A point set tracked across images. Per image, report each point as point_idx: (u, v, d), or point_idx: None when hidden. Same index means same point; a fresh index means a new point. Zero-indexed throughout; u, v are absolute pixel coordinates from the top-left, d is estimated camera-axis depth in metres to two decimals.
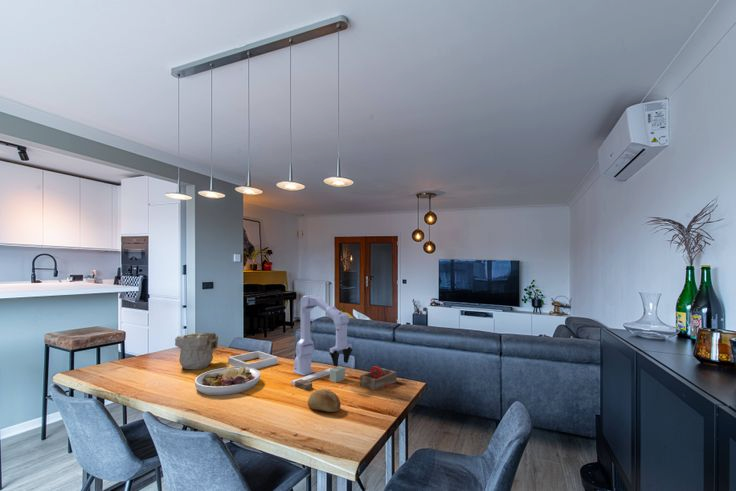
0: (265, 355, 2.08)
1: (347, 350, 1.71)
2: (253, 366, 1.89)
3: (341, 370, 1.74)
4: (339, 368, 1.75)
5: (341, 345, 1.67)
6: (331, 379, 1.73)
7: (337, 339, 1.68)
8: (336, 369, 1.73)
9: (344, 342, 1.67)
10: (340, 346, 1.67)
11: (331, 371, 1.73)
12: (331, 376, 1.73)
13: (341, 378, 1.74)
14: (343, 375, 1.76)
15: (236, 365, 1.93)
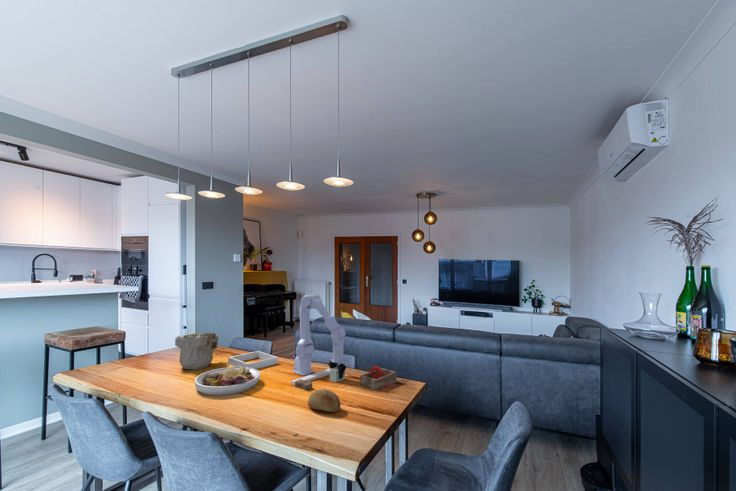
0: (265, 355, 2.08)
1: None
2: (253, 366, 1.89)
3: None
4: None
5: (332, 357, 1.75)
6: (331, 379, 1.73)
7: None
8: (336, 369, 1.73)
9: (333, 355, 1.74)
10: (332, 358, 1.76)
11: (331, 371, 1.73)
12: (331, 376, 1.73)
13: (341, 378, 1.74)
14: (343, 375, 1.76)
15: (236, 365, 1.93)
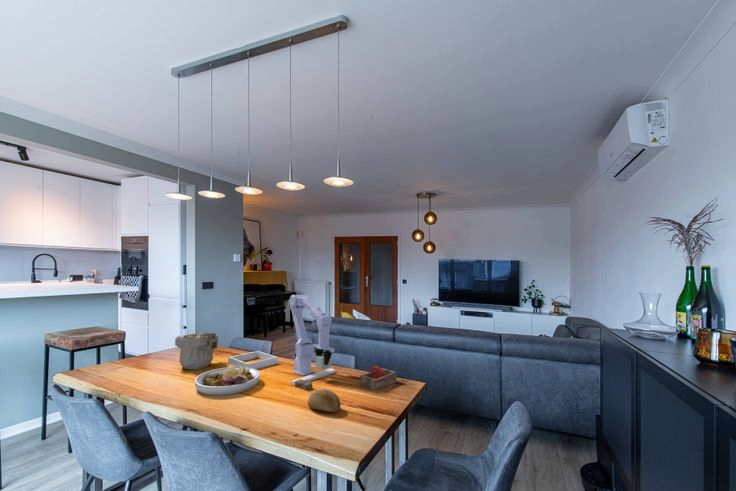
0: (265, 355, 2.08)
1: None
2: (253, 366, 1.89)
3: None
4: None
5: (318, 344, 1.75)
6: (317, 366, 1.73)
7: None
8: (322, 357, 1.74)
9: (319, 342, 1.74)
10: (318, 345, 1.76)
11: (317, 358, 1.74)
12: (317, 363, 1.73)
13: (327, 365, 1.75)
14: (329, 363, 1.76)
15: (236, 365, 1.93)
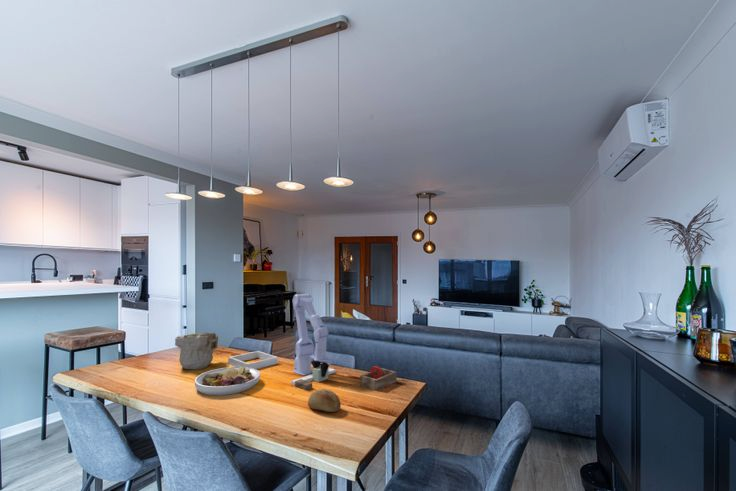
0: (265, 355, 2.08)
1: None
2: (253, 366, 1.89)
3: None
4: None
5: (315, 356, 1.75)
6: (314, 378, 1.72)
7: None
8: (319, 369, 1.73)
9: (316, 354, 1.73)
10: (315, 356, 1.75)
11: (314, 370, 1.73)
12: (314, 375, 1.73)
13: (324, 377, 1.74)
14: (326, 374, 1.75)
15: (236, 365, 1.93)
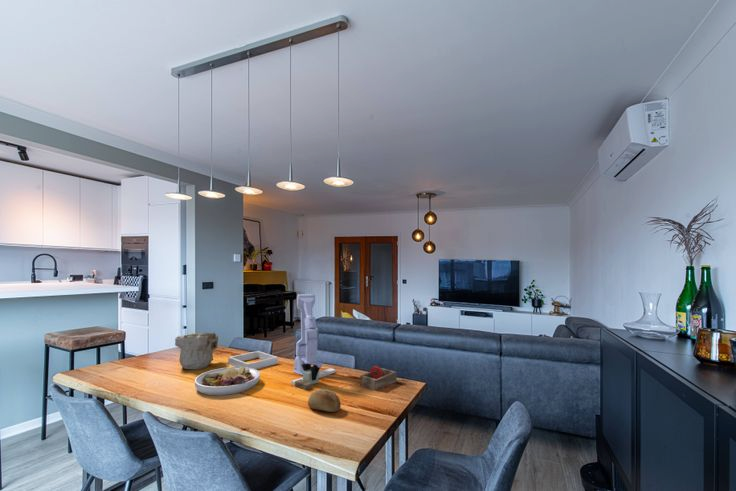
0: (265, 355, 2.08)
1: None
2: (253, 366, 1.89)
3: None
4: None
5: (305, 358, 1.70)
6: None
7: None
8: (309, 372, 1.68)
9: (306, 356, 1.68)
10: (305, 359, 1.70)
11: (304, 373, 1.68)
12: (304, 379, 1.67)
13: (314, 381, 1.69)
14: (317, 378, 1.70)
15: (236, 365, 1.93)
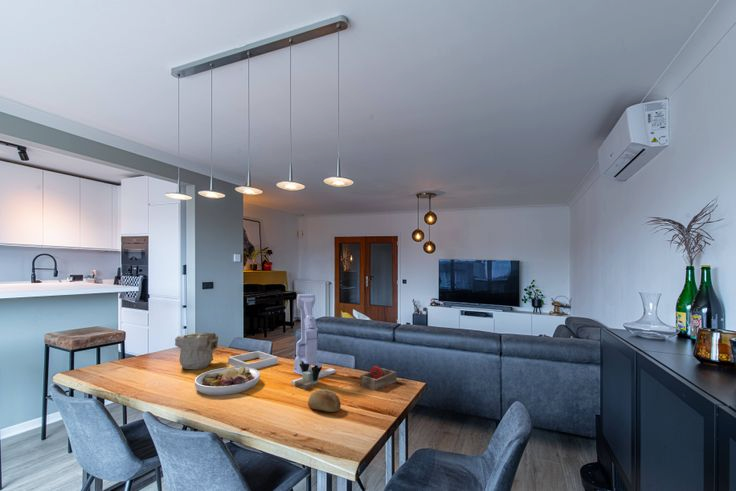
0: (265, 355, 2.08)
1: None
2: (253, 366, 1.89)
3: None
4: None
5: (305, 358, 1.70)
6: None
7: None
8: (309, 372, 1.67)
9: (306, 357, 1.68)
10: (305, 359, 1.70)
11: (303, 374, 1.68)
12: (303, 379, 1.67)
13: (314, 381, 1.68)
14: None
15: (236, 365, 1.93)
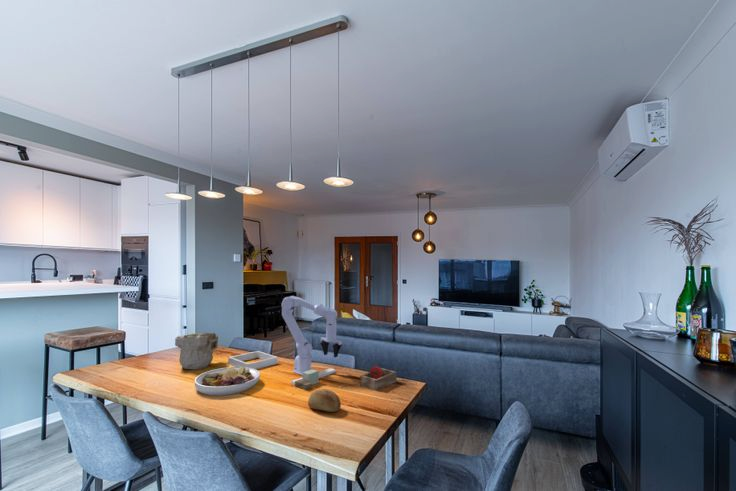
0: (265, 355, 2.08)
1: None
2: (253, 366, 1.89)
3: (314, 373, 1.69)
4: (312, 371, 1.70)
5: (326, 337, 1.85)
6: None
7: None
8: (309, 372, 1.67)
9: (327, 335, 1.84)
10: (326, 338, 1.85)
11: (304, 374, 1.67)
12: (303, 379, 1.67)
13: (314, 382, 1.68)
14: (316, 378, 1.70)
15: (236, 365, 1.93)
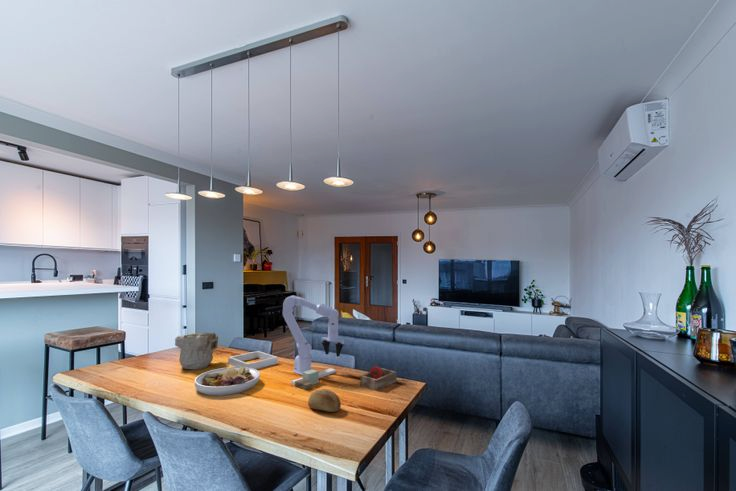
0: (265, 355, 2.08)
1: None
2: (253, 366, 1.89)
3: (314, 373, 1.69)
4: (312, 371, 1.70)
5: (328, 337, 1.86)
6: None
7: None
8: (309, 372, 1.67)
9: (329, 335, 1.85)
10: (327, 337, 1.87)
11: (304, 374, 1.68)
12: (303, 379, 1.67)
13: (314, 382, 1.68)
14: (316, 378, 1.70)
15: (236, 365, 1.93)
